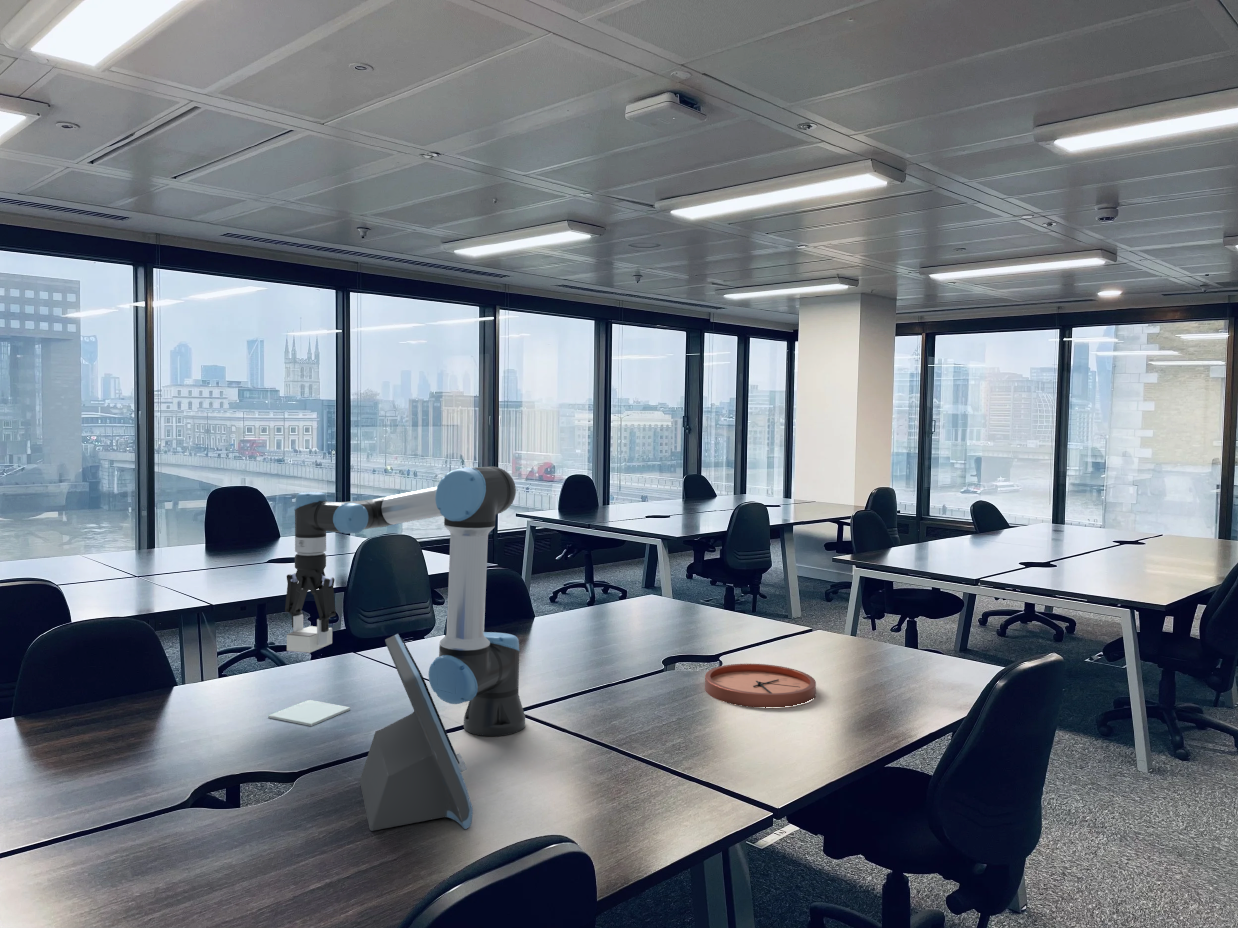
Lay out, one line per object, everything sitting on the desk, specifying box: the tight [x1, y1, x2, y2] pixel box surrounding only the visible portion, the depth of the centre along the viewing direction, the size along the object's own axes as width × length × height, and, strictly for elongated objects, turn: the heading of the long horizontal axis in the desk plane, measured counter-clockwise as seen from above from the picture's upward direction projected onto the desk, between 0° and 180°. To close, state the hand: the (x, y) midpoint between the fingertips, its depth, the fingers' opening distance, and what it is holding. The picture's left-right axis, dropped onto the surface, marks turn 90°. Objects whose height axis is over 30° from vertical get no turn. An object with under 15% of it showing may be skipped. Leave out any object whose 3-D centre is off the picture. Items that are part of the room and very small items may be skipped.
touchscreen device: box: [359, 633, 474, 832], centre depth 171 cm, size 35×20×30 cm, turn 21°
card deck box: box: [286, 625, 333, 654], centre depth 220 cm, size 10×6×4 cm, turn 167°
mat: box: [267, 699, 351, 727], centre depth 221 cm, size 14×14×1 cm
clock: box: [704, 663, 817, 709], centre depth 247 cm, size 31×4×31 cm
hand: (309, 642), depth 220 cm, fingers closed on card deck box, 7 cm apart
